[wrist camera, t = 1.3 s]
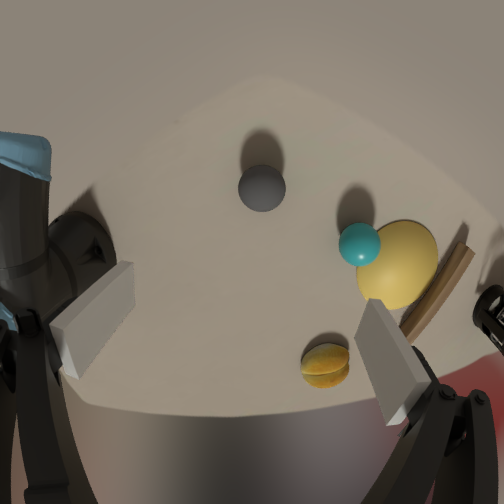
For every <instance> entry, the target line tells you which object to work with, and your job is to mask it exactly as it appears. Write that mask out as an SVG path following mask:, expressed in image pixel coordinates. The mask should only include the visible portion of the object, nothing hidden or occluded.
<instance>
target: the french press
mask: <svg viewBox="0 0 504 504" xmlns="http://www.w3.org/2000/svg"><path fill="white" fill-rule="evenodd" d="M499 296H500V304H499V307H498V309H497V311H496V313H495V314H494V315H493V314H492V313H491V312H490V311H489V310H488V309H489V307H490V305H491V304H492V303H493V302H494V301H495V300H496V299H497V298H498V297H499ZM473 322H474V324H475V326H477V327H479V328H480V329H481V331H482V332H483V333H484V334H486V335H487V336H488V338H489V339H490V340H491V341H492V342H493V343H494V345H495V346H496V347H497V348H498V349H499V350H500V352H501V353H502V355H503V356H504V289H503V288H502V287H501V286H500V285H493V286H491V287H489V288H488V289H487V290H486V291H485V292H484V293H483V294H482V295H481V296H480V298H479V300H478V301H477V303H476V305H475V308H474V311H473ZM498 341H500V342H501V343H503V345H502V346H501V345H500V344H499V342H498Z"/></svg>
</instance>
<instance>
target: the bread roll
mask: <svg viewBox="0 0 504 504" xmlns="http://www.w3.org/2000/svg"><path fill="white" fill-rule="evenodd" d="M348 359H349V352H348V350H347V349H346V348H344V347H342V346H339V345H335V344H331V343H325V344H321V345H319V346H316V347H314V348H313V349H311V350H310V351H309V352H308V353H307V354H306V355H305V356H304V357H303V359H302V362H301V372H302V375H303V378H304V379H305V381H306V382H307V383H308V384H310V385H311V386H313V387H317V388H330V387H333V386H335V385H337V384H339V383H341V382H342V381H343V380H344V379H345V378H346V377H347V375H348V373H349V364H348Z"/></svg>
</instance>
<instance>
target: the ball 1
mask: <svg viewBox="0 0 504 504" xmlns="http://www.w3.org/2000/svg"><path fill="white" fill-rule="evenodd" d="M285 191H286V186H285V181H284V179H283V177H282V175H281V174H280V173H279V172H278V171H277V170H276V169H274V168H272V167H270V166H266V165H258V166H254V167H251V168H250V169H248V170H247V171H246V172H245V173H244V174H243V175H242V177H241V179H240V181H239V185H238V192H239V196H240V198H241V200H242V202H243V203H244V204H245V205H246V206H247V207H248V208H250V209H252V210H254V211H258V212H266V211H270V210H273V209H274V208H276V207H277V206H278V205H279V204H280V203H281V202H282V200H283V198H284V196H285Z"/></svg>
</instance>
